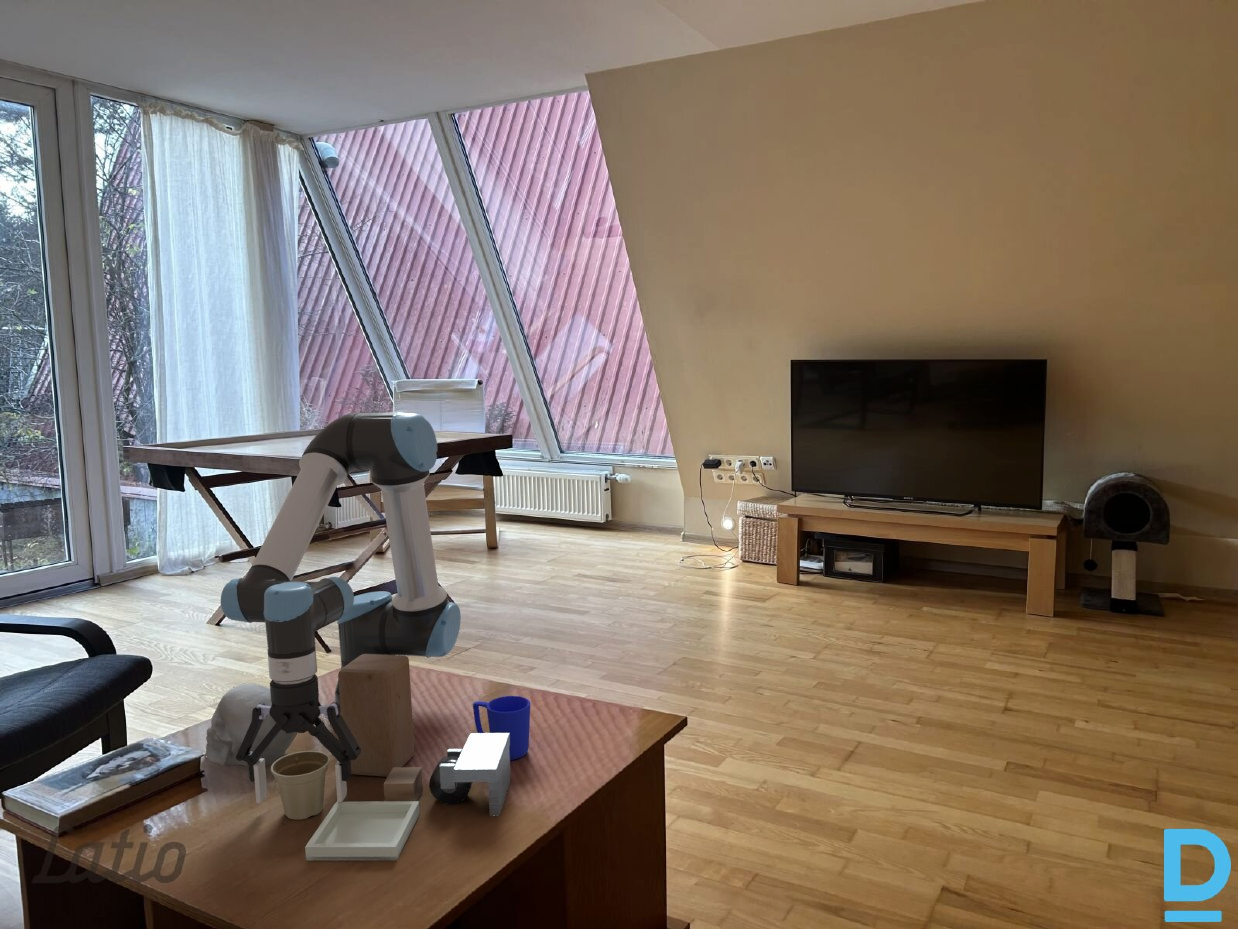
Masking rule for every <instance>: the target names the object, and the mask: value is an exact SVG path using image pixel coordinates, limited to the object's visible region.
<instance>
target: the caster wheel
mask: <svg viewBox="0 0 1238 929" xmlns="http://www.w3.org/2000/svg"><path fill="white" fill-rule="evenodd" d="M509 746H510V733H490V732H484V733H478V732H472V733H471V732H470V734H469V735H468V738H467V739H466V742H465V744H464V746H463V748H448V749H447V751H446V754H447V755H446V756H444V757H442V758H441V759H440V760H438V762H437V763H436V766H435V768H434V769H433V771H432V773H431V775H430V778H429V782H428V783H429V784H428V787H429V791H430V793H431V795H432V796H433V798H434V799H435V800H436V801H438V802H440V803H442V804H444V805H451V806H452V805H457V804H459V803H461V802H463V801H464V800H465V799H466V798H467V797H468V795H469V793H470V792H471V789H472V786H473V784H474V783H487V784H488V785H487V786H488V787H487V788H488V805H489V806H488V808H489V809H488V810H489V816H490V815H491V816H490V817H500V816H501V813H500V812H502V810H503V807H504V803H505V800H506V798H507V795H508V792H507V790H508V791H509V789H508V788H510V786H511V785H510V784H511V783H510V782H512V781H511V780H512V778H511V760H510V755H509ZM509 785H510V786H509ZM506 794H507V795H506ZM505 797H506V798H505ZM501 809H502V810H501ZM493 815H495V816H493ZM497 815H498V816H497ZM499 815H500V816H499Z"/></svg>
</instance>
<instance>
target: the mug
mask: <svg viewBox="0 0 1238 929" xmlns="http://www.w3.org/2000/svg"><path fill="white" fill-rule="evenodd" d="M480 707H482V708H485V709H486V714H487V721H488V728H489V733H510V746H509V755H510V761H511V760H512V761H514V760H517V759H520V758H523V757H524V756H525V755H526V754H528V751H529V746H530V727H531V726H530V724H531V722H530V720H531V701H530V700H529V698H526V697H523V696H520V695H519V696H518V695H507V696H506V695H505V696H500V697H497V698H493V699H491V700H490V701H489V702H487V701H480V700H479V701H474V702H473V704H472V711H473V716H474V717H473V718H474V724H475V728H476V733H485V732H484V729H483V726H482V722H481V714H480Z"/></svg>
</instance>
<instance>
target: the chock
mask: <svg viewBox="0 0 1238 929" xmlns="http://www.w3.org/2000/svg"><path fill="white" fill-rule="evenodd" d="M423 785H424V784H423V769H422V766H418V767H417V766H413V767H411V766H409V767H408V766H406V767H405V766H403V767H393V769H392V770H391V772H390V774H389V775H388V777H386V779H385V780H384V783H383V796H384V801H420V800H419V799H420V798H421V795H422V793H423V791H424V787H423Z"/></svg>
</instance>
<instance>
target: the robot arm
mask: <svg viewBox="0 0 1238 929" xmlns="http://www.w3.org/2000/svg"><path fill="white" fill-rule="evenodd" d="M437 452H438V440H437V436H436V434H435V430H434V428H433V426H432V424H431V423H430V422H429V420H428V419H427V418H425V416H424V415H422V414H419V413H415V412H404V411H403V412H402V411H398V412H397V411H396V412H395V411H394V412H367V413H366V412H365V413H364V412H363V413H362V412H354V413H348V414H345V415H341V416H340V417H338V418H336V419H334V420H333V421H331V422H330V423H328V424H327V425H326V426H324V428H322V429H321V430H320V431H319V432H318V433H317V434H316V435H315V436H314V437H313V439H312V440H311V441H310V442H309V443H308V444H307V446H306V447H305V449H304V451H303V453H302V456H301V457H300V459H299V461H298V462H299V463H298V466H299V468H300V471H299V473H298V475H297V476H296V478H295V480H294V482H293V484H292V486H291V488H290V490H289V492H288V495H286V498H285V500H284V502H283V503H282V505H281V508H280V510H279V511H278V514H277V515H276V517H275V519H274V521H273V524H271V527H270V529H269V531H268V534H267V535H266V537H265V538H264V541H263V543H262V544H261V547H260V549H259V551H258V552H257V555H256V557H255V559H254V561H253V563H252V565H251V566H250V568H249V570H248V572H247V574H246V575H245V576H244V577H239V578H233V579H231V580H230V581H229V582H227V583H226V584H225V585H224V587H223V588H222V591H221V594H220V608H221V611H222V613H223V615H224V616H225V617H226V618H227V619H229V620H231V621H236V622H241V623H248V624H251V623H264V625H265V633H266V635H265V636H266V642H267V659H268V660H267V661H268V662H267V664H268V673H269V676H268V677H269V679H271V680H270V682H269V689H270V695H271V702H272V706H265V704H264V703H259V704H258V705H257V706H256V707H255V708H254V709H253V710H252V721H251V724H250V726H249V728H248V730H247V733H246V735H245V737H244V739H243V742H242V744H241V746H240V749H239V751H238V753H237V755H236V759H237V760H238V761H241V760H243V761H245V762H247V763H248V773H249V774H248V778H249V780H250V782H253V783H254V788H255V799H256V800H255V802H256V804H257V803H258V804H259V803H262V802H263V800H264V799H265V798H266V797H268V785H267V771H266V765H265V758H260V759H259V757H260V756H261V754H262V753H263V752H264V751H265V749H266V748H267V747H268V746H269V744H270V743H271V742H272V741H273V740H274V738H275V737H276V736H277V735H278V733H279V732H280V731H281V730H283V731H285V732H286V733H293V732H297V734H305V733H306V732H308V733H309V734H310V735H311V736H312V737H315V738H316V740H318V741H319V743H321V745H322V746H323V747H325V749H326V750H328V752H329V753H330V754H331V755H332V756H333V757H334V758H335V760H337V762H335V764H334V768H335V784H336V785H335V786H336V787H335V788H336V802H344V800H345V799H346V797H347V795H348V787H347V786H348V785H347V782H348V781H349V779H350V778H351V777H352V774H351V760H355V759H356V758H357V757H358V756H359V754H360V753H361V748H360V746H359V745H358V743H357V741H356V740H355V738H354V736H353V735H352V733H351V731H350V729H349V728H348V726H347V724H346V723H345V721H344V719H343V718H342V716H341V708H340V694H339V680H338V679H337V683H336V687H335V691H334V701H333V702H332V703H331V704H326V705H325V704H324V705H322V704H321V703H320V700H319V698H320V693H319V692H320V691H319V679H318V678H319V677H318V675H317V672H318V664H317V663H318V662H317V649H316V632H317V631H319V630H321V629H323V628H325V627H326V626H329V625H331V624H333V623H335V622H337V626H338V629H337V630H338V639H339V641H338V642H339V653H340V666H341V667H340V670H341V669H342V668H343V667H345V666H346V665H348V664H349V663H350V662H352V661H353V660H355V659H356V658H357V657H359V656H360V655H362V654H379V655H401V656H407V657H409V656H410V657H424V658H427V659H429V658H443V657H446V656H448V654H450V653H451V651H452V650H453V649H454V647H455V644H456V643H457V639H458V637H459V634H460V629H461V617H462V616H461V610H460V607H459V606H458V604H457V603H454V602H452V601H451V602H449V600H448V593H447V591H446V589H445V588H444V587H442V586H440V585H439V581H438V574H437V567H436V560H435V553H434V545H433V539H432V533H431V532H432V531H431V524H430V518H429V511H428V505H427V498H426V491H425V484H424V483H425V482H426V480H427V479H428V478H429V476H430V473H431V472H430V471H431V469H433V467H434V466H435V465H436V462H437V458H438V455H437ZM354 471H355V472H356V471H370V477H371V482H372V484H373V485H374V486H376V487H377V488H379V489H380V490H381V496H382V503H383V509H384V515H385V521H386V529H387V533H388V534H387V535H388V539H389V540H388V541H389V547H390V552H391V558H392V565H393V571H394V577H395V584H396V590H397V593H396V594H395V595H394V596H393V595H392V593H391V592H389V591H384V590H383V591H382V590H381V591H379V590H378V591H370V592H366V593H362V594H358V595H354V591H353V589H352V587H351V584H349V583H348V582H347V580H345V579H343V578H342V577H339V576H331V577H323V578H321V579H320V580H319V581H303V580H300V581H299V580H298V581H297V580H294V576H295V575H296V572H297V571H298V569H299V566H300V564H301V562H302V559H303V558H304V556H305V554H306V552H307V549H308V547H309V545H310V543H311V542H312V539H313V537H314V534H315V532H316V531H317V528H318V527H319V525H320V522H321V520H322V518H323V516H324V514H325V512H326V509H327V508H328V505H329V503H330V501H331V499H332V497H333V495H334V493H335V491H336V488H337V486H340V485H342V484H344V482H345V481H346V480H347V479H348V475H349V474H351V472H354ZM268 714H270V716H271V717H272V718H273V720H274V721H275V722H276V724H275V725H274V726H273V728H272V729H271V730H270V731H269V733H268V734H267V735H266V737H265V738H264V739H263V740H262V742H261V743H260V744H259V745H258V747H257V748H256V749H255V750H254V752H251V751H250V749H251V747H252V745H253V743H254V740H255V738H256V736H257V734H258V731H259V729H260V727H261V725H262V722H263V720H264V719H265V718H266V717H267V716H268ZM321 714H322V715H323V716H324V718H325V719H327V720H328V722H329V725H330V726H331V728H332V730H333V732H334V733H335V734H334V733H332V732H331V730H330V729H329V728H328V727H327V726H326V724H325V722H324V721H323V719H321V718H320V716H321ZM335 735H336V736H335Z"/></svg>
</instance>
